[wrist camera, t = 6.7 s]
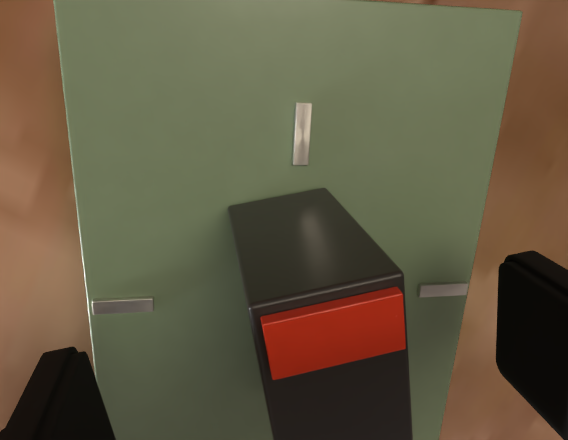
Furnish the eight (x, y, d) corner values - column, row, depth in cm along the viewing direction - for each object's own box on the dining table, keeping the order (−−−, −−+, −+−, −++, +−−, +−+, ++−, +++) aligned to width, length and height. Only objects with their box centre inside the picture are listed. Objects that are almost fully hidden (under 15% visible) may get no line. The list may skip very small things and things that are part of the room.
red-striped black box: (347, 371, 13) (424, 536, 9) (263, 391, 13) (300, 572, 9) (326, 185, 11) (412, 278, 7) (226, 205, 11) (248, 314, 7)
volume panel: (395, 411, 18) (434, 481, 15) (124, 438, 16) (109, 523, 14) (456, 17, 14) (528, 9, 11) (84, -6, 12) (47, -22, 9)
